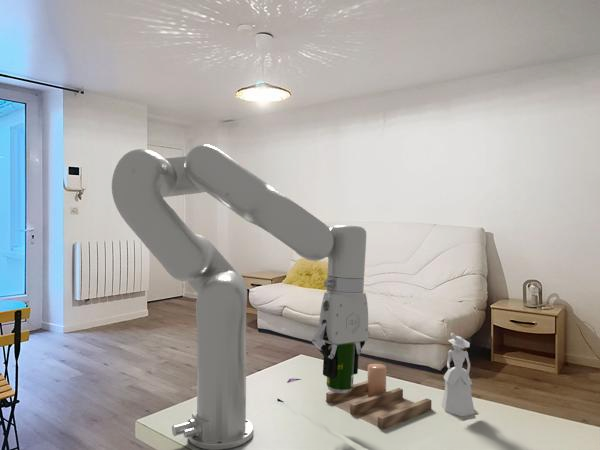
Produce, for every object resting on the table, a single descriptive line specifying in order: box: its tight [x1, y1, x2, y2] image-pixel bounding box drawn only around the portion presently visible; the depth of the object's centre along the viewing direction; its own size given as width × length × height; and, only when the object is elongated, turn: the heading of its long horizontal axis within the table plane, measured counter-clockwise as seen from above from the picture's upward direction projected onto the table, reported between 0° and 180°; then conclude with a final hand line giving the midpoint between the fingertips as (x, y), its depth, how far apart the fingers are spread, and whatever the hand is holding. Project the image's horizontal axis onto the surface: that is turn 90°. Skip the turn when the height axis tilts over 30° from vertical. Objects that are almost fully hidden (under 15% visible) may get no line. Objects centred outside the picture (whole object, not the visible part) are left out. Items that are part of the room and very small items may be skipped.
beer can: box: [326, 342, 355, 393], centre depth 87 cm, size 5×5×12 cm
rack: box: [325, 380, 433, 431], centre depth 97 cm, size 16×18×3 cm
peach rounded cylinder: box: [367, 363, 387, 397], centre depth 102 cm, size 4×4×7 cm
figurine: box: [440, 332, 476, 422], centre depth 95 cm, size 7×8×18 cm
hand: (340, 373), depth 87 cm, fingers closed on beer can, 5 cm apart
